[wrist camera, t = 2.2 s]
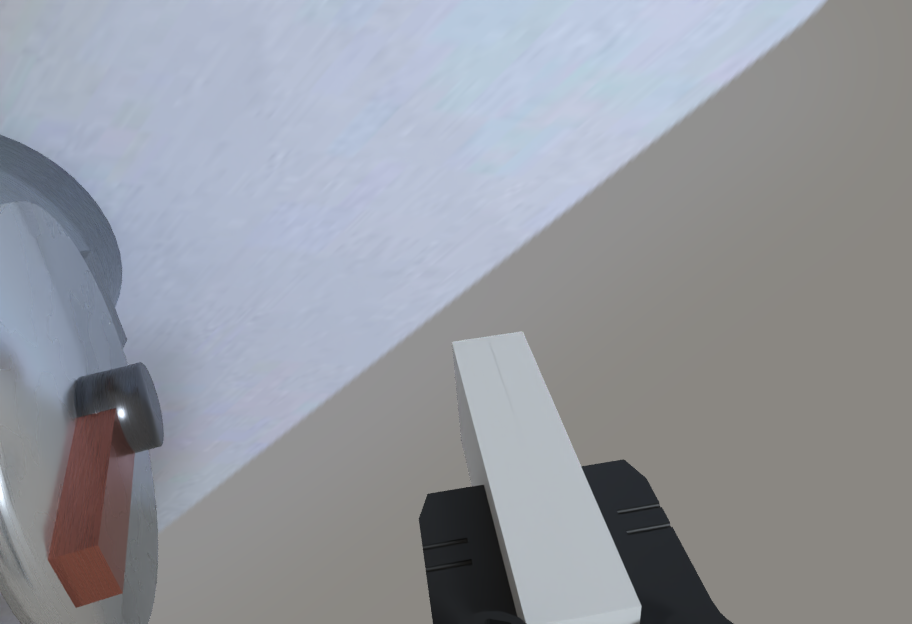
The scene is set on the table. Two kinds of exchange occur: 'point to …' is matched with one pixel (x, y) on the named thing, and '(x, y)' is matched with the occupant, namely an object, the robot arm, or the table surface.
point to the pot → (65, 214)
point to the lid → (70, 439)
